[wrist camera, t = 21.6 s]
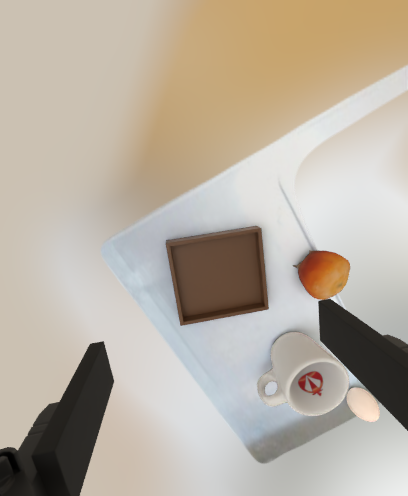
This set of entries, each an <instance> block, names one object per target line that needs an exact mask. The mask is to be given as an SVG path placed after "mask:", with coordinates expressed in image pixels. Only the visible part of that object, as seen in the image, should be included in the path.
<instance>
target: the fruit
mask: <svg viewBox="0 0 408 496" xmlns="http://www.w3.org/2000/svg"><path fill="white" fill-rule="evenodd" d="M309 251H310V250H309ZM293 266H294V267H297V268H298V274H299V278H300V280H301V283H302V284H303V286H304V287H305V289H306V290H307V292H308V293H309V294H310V295H311V296H312V297H314V298H317V299H322V300H325V299H328V298H330V297H333V296H334V295H336V294H337V293H339V292H340V291H341V290H342V289H343V288H344V286H345V285H346V283H347V280H348V275H349V270H350V264H349V262H348V260H346V259H345V258H343V257H342V256H340V255H338V254H336V253H333V252H328V251H310V253H309V254H308V255H307V257H306V258H305V259H304V260H303V261H302V262H301V263H300V264H298V265H297V266H295V265H293Z"/></svg>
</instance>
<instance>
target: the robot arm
mask: <svg viewBox="0 0 408 496" xmlns="http://www.w3.org/2000/svg"><path fill="white" fill-rule="evenodd" d="M318 303H319V326H320V341H321V342H322V343H323V344H324V345H325V346H326V347H327V348H328V349H329V350H330V351H331V352H332V353H333V354H334V355H335V356H336V357H337V358H338V359H339V360H340V361H341V362H342V363H343V364H344V365H345V366H346V367H347V368H348V370H349V371H350V372H351V373H352V374H353V375H354V376H355V377H356V378H357V379H358V380H359V381H360V382H361V383H362V384H363V385H364V386H365V387H366V388H367V389H368V390H369V391H370V392H371V393H372V394H373V395H374V396H375V397H376V399H377V400H378V401H379V402H380V403H381V404H382V405H383V406H384V407H385V408H386V409H387V410H388V411H389V412H390V413H391V414H392V415H393V416H394V417H395V418H396V419H397V420H398V421H399V422H400V423H401V424H402V425H403V426H404V427H405V429H407V431H408V344H406V343H405V342H403V341H401V340H400V339H398V338H395V337H393V336H390V335H383V336H382V335H381V334H379V333H378V332H377V331H375V330H373V329H372V328H371V327H369V326H368V325H367V324H365V323H364V322H362V321H361V320H359V319H358V318H357V317H355V316H354V315H352V314H351V313H350V312H348V311H347V310H345V309H344V308H343V307H341V306H340V305H338V304H337V303H335V302H334V301H333V300H331V299H326V300H321V301H318ZM113 383H114V379H113V375H112V372H111V368H110V364H109V360H108V356H107V352H106V349H105V345H104V342H98V343H92V344H90V345H89V347H88V349H87V351H86V353H85V355H84V357H83V359H82V360H81V362H80V364H79V366H78V368H77V370H76V372H75V374H74V376H73V377H72V379H71V381H70V383H69V385H68V387H67V389H66V391H65V393H64V394H63V396H62V399H61V400H60V402H57V403H52V404H49V405H48V406H47V407H46V408H45V409H44V410H43V411H42V412H41V413H40V414H39V416H38V418H37V419H36V421H35V422H34V424H33V427H31V429H30V431H29V433H28V436H27V437H26V438H25V439H24V441H23V443H22V445H21V446H20V448H19V450H18V451H17V450H16V449H15V448H11V447H7V448H4V449H0V496H80V492H81V489H82V486H83V482H84V479H85V476H86V472H87V469H88V466H89V463H90V459H91V456H92V453H93V449H94V446H95V443H96V439H97V436H98V433H99V430H100V426H101V423H102V420H103V416H104V413H105V410H106V406H107V403H108V400H109V396H110V393H111V389H112V387H113Z"/></svg>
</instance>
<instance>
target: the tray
mask: <svg viewBox="0 0 408 496" xmlns="http://www.w3.org/2000/svg"><path fill="white" fill-rule="evenodd" d="M166 248H167V253H168V259H169V264H170V270H171V275H172V281H173V286H174V292H175V297H176V303H177V309H178V314H179V320H180V325H181V326H182V325H187V324H193V323H198V322H203V321H209V320H214V319H219V318H225V317H230V316H235V315H241V314H246V313H251V312H257V311H262V310H267V309H269V307H268V297H267V286H266V275H265V264H264V253H263V242H262V232H261V228H260V227H258V226H253V227H247V228H241V229H234V230H228V231H222V232H216V233H210V234H203V235H197V236H191V237H185V238H179V239H172V240H166Z"/></svg>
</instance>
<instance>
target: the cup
mask: <svg viewBox="0 0 408 496" xmlns="http://www.w3.org/2000/svg"><path fill="white" fill-rule="evenodd" d="M271 362H272V369H271V370H270V371H268V372H267V373H265V374H263V375H262V376H261V377H260V378H259V380H258V383H257V390H258V394H259V396H260V398H261V399H262V401H263V402H264V403H265V404H266V405H268V406H271V407H274V406H278V405H281V404H284V403H288V404H289V405H290V407H291V408H292V409H293V410H295V411H296V412H298V413H300V414H303V415H307V416H317V415H321V414H325V413H327V412H329V411H331V410H333V409H334V408H335V407H337V406H338V405H339V404H340V403H341V402H342V400H343V399H344V397H345V396H346V394H347V391H348V388H349V376H348V373H347V371H346V369H345V367H344V366H343V365H342V364H341V363H340V362H339V361H338V360H337V359H335V358H334V357H333V356H332V355H331V354H329V353H328V352H327V351H326V350H325V349H324V348H322V347H321V346H320V345H319V344H318V343H316V342H315V341H314V340H313V339H311V338H310V337H309V336H307V335H305V334H303V333H300V332H289V333H286V334H284V335H282V336H280V337H279V338H278V339H277V340H276V341H275V343H274V344H273V346H272V349H271ZM272 381H273V382H276V383H277V385H278V388H277V391H276V392H275V393H274V394H273V395H270V396H268V395H266V394H265V386H266V385H267V384H268V383H269V382H272Z"/></svg>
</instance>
